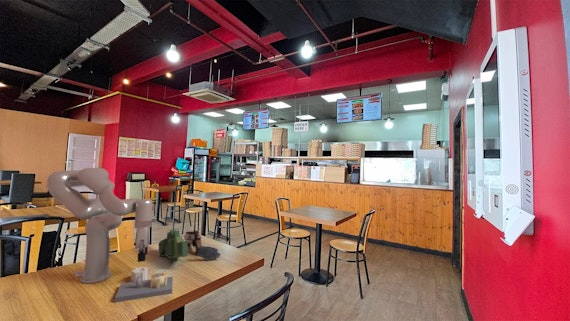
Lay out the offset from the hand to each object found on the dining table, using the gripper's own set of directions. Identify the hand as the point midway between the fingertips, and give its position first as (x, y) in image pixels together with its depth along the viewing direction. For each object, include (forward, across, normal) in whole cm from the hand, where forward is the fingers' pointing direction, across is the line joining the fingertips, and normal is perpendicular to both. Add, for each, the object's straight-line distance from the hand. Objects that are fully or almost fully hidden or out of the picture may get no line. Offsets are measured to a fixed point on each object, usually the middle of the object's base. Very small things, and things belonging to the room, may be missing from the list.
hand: (142, 257), depth 122 cm
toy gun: (+12, -38, +26) cm, 48 cm away
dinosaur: (+12, -21, +15) cm, 28 cm away
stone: (+12, -14, +34) cm, 39 cm away
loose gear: (+11, 0, -1) cm, 11 cm away
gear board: (+11, +12, +3) cm, 17 cm away
